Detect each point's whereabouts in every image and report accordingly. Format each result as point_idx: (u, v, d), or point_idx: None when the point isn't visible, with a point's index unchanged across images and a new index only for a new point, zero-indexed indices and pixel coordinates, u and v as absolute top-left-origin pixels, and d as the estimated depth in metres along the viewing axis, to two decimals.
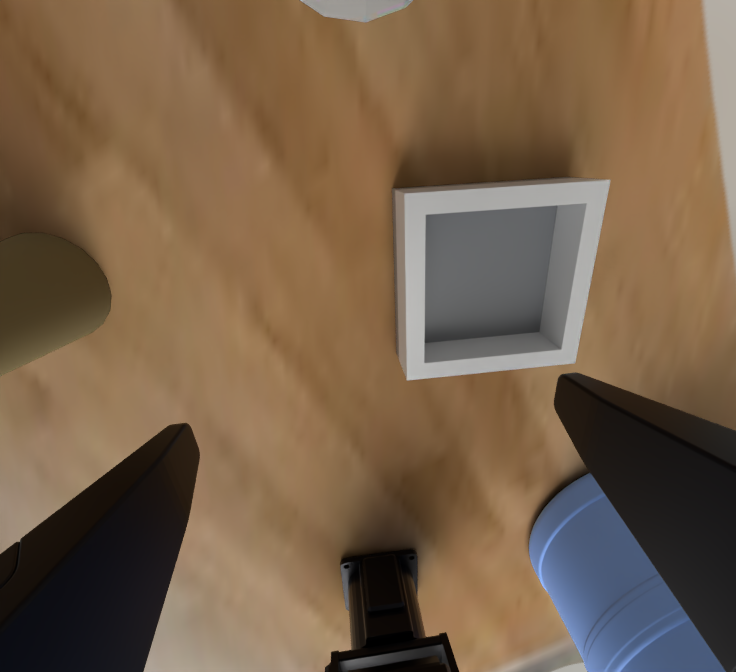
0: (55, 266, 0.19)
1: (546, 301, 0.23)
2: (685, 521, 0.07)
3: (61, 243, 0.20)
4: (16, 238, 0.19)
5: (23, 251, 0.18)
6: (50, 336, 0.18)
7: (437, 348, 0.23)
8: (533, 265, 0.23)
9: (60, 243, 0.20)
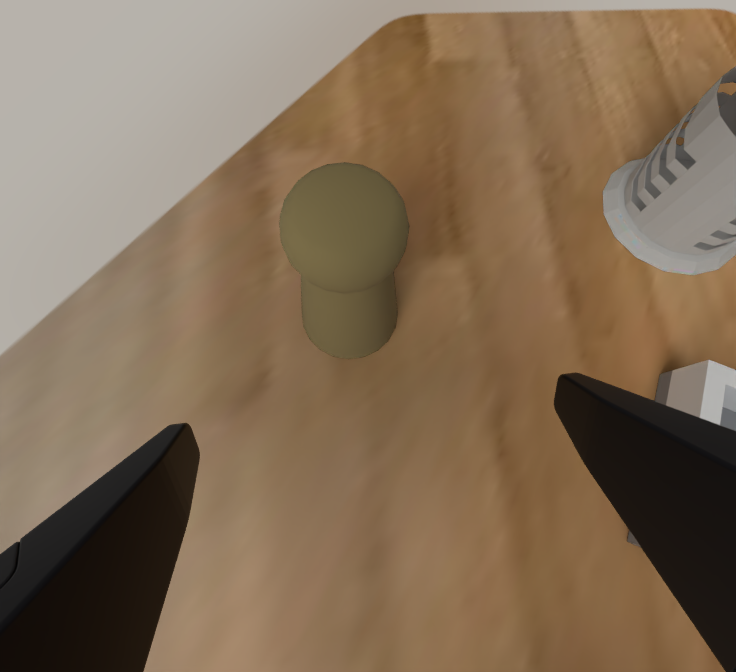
0: None
1: None
2: (685, 521, 0.07)
3: None
4: None
5: None
6: (376, 316, 0.20)
7: None
8: None
9: None
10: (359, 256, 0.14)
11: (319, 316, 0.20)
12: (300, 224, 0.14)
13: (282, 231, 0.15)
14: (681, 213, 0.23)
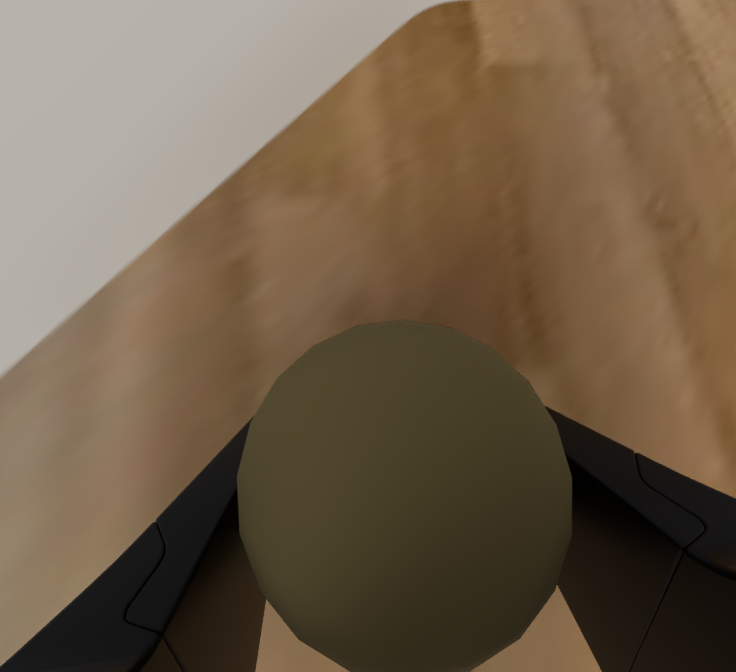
0: None
1: None
2: (575, 538, 0.06)
3: None
4: None
5: None
6: None
7: None
8: None
9: None
10: (467, 657, 0.05)
11: None
12: (289, 550, 0.05)
13: (241, 532, 0.05)
14: None
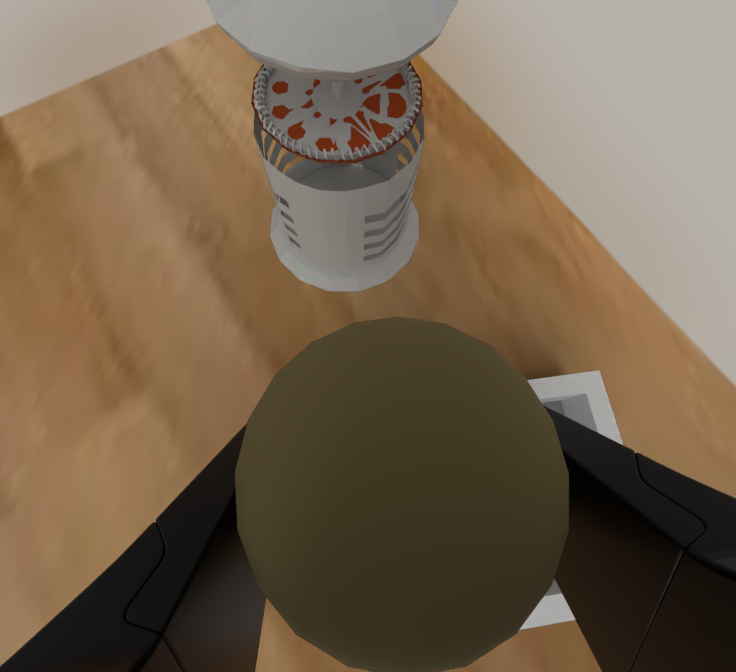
0: None
1: None
2: (575, 538, 0.06)
3: None
4: None
5: None
6: None
7: None
8: None
9: None
10: (463, 652, 0.05)
11: None
12: (286, 545, 0.05)
13: (239, 528, 0.05)
14: (323, 245, 0.21)
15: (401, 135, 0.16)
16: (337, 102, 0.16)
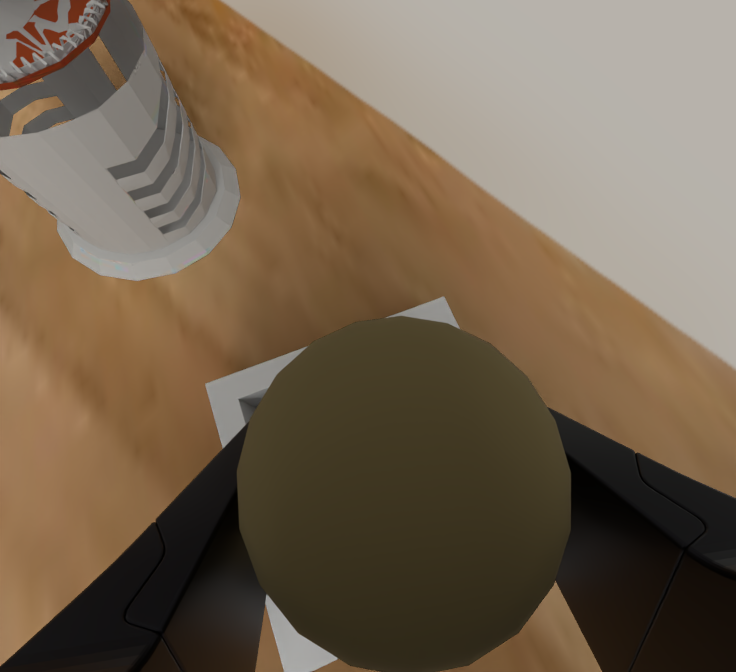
0: None
1: None
2: (575, 538, 0.06)
3: None
4: None
5: None
6: None
7: None
8: None
9: None
10: (466, 651, 0.05)
11: None
12: (288, 544, 0.05)
13: (240, 527, 0.05)
14: (90, 221, 0.17)
15: (83, 40, 0.12)
16: None
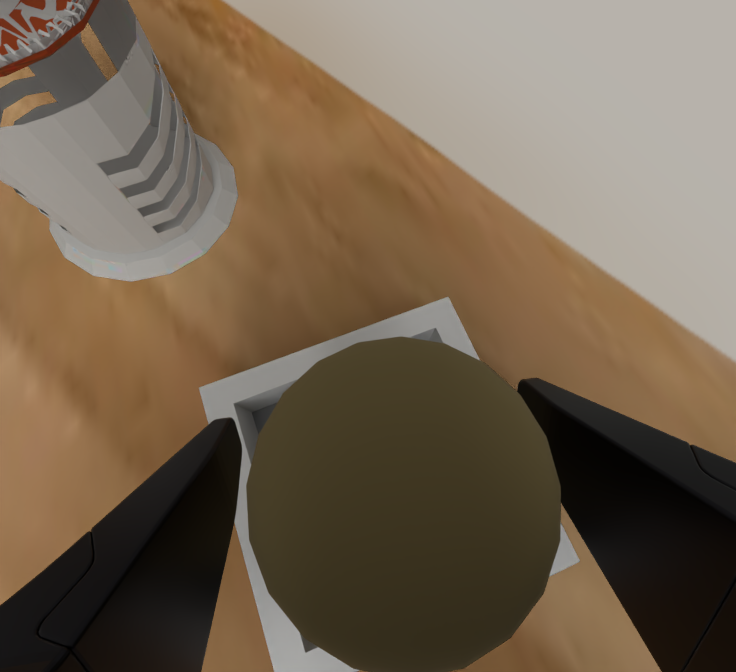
0: None
1: None
2: (629, 530, 0.07)
3: None
4: None
5: None
6: None
7: None
8: None
9: None
10: (461, 655, 0.05)
11: None
12: (296, 556, 0.05)
13: (250, 538, 0.06)
14: (81, 219, 0.16)
15: (71, 28, 0.11)
16: None
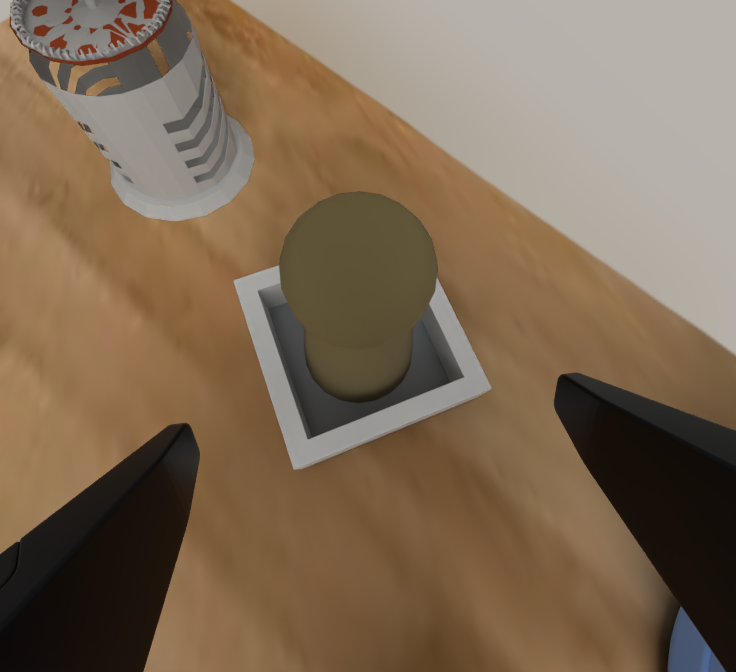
0: None
1: (437, 350, 0.22)
2: (685, 521, 0.07)
3: None
4: None
5: None
6: (392, 363, 0.17)
7: None
8: None
9: None
10: (379, 312, 0.11)
11: (325, 363, 0.17)
12: (305, 272, 0.11)
13: (283, 278, 0.12)
14: (145, 168, 0.22)
15: (156, 30, 0.17)
16: (94, 13, 0.18)
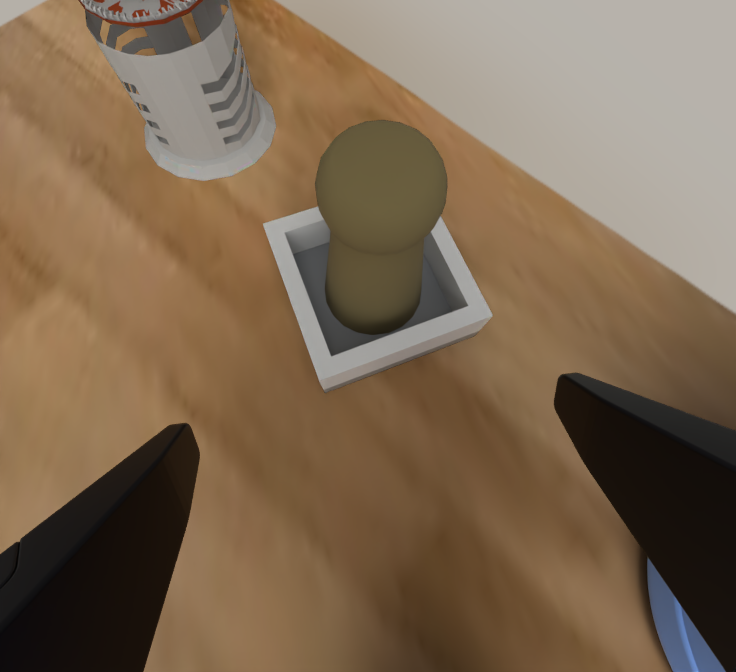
0: None
1: (443, 289, 0.24)
2: (685, 521, 0.07)
3: None
4: None
5: None
6: (406, 286, 0.20)
7: None
8: None
9: None
10: (400, 211, 0.14)
11: (347, 286, 0.19)
12: (340, 179, 0.14)
13: (320, 188, 0.14)
14: (181, 128, 0.25)
15: None
16: None
